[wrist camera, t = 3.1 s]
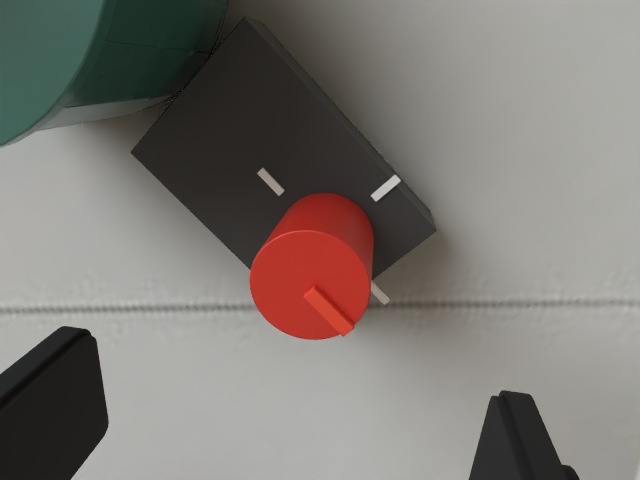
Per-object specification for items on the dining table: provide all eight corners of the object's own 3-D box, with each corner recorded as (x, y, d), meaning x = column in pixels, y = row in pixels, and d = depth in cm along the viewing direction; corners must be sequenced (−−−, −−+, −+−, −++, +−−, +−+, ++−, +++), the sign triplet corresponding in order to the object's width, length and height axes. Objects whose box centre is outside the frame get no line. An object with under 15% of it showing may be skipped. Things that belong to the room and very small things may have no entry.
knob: (260, 234, 21) (222, 284, 16) (328, 172, 19) (308, 207, 14) (324, 297, 21) (306, 365, 17) (393, 243, 20) (396, 299, 15)
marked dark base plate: (157, 146, 23) (123, 157, 20) (267, 18, 20) (248, 9, 17) (329, 318, 25) (322, 350, 22) (451, 225, 22) (461, 248, 20)
